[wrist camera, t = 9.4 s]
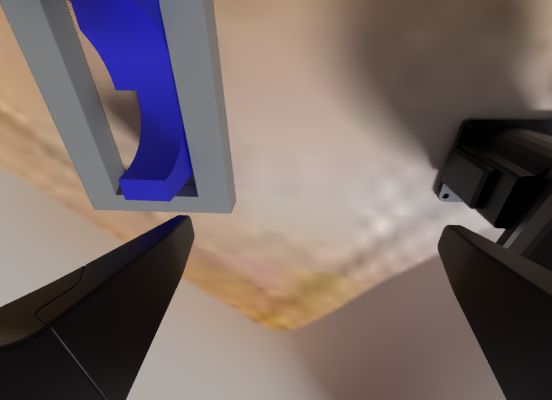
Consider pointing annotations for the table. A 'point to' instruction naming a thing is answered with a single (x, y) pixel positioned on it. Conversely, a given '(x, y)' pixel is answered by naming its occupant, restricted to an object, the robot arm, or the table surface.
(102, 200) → the gray rectangular open frame
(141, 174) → the blue curved bracket
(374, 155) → the table surface
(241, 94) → the table surface
